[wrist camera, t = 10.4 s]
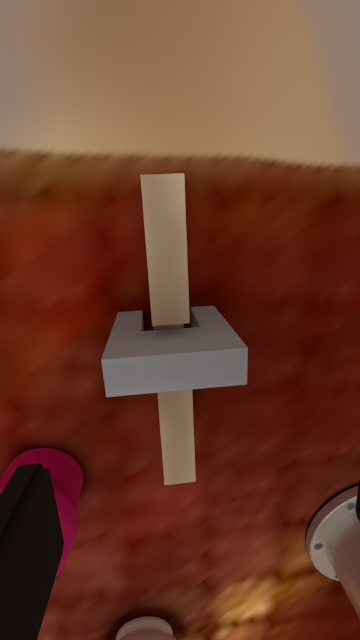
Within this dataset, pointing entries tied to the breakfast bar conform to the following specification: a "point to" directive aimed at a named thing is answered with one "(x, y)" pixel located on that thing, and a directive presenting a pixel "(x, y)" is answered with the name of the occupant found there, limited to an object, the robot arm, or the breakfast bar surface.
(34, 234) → the breakfast bar surface
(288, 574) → the breakfast bar surface
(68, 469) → the pepper mill
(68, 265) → the breakfast bar surface
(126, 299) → the breakfast bar surface
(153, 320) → the beige notched bar
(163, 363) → the notched plate
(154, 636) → the flower vase
